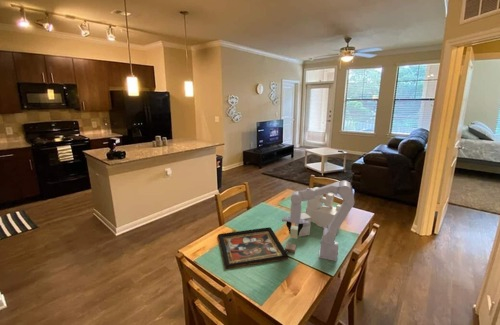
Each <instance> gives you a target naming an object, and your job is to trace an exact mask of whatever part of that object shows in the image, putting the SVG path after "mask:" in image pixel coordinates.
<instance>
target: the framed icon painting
mask: <svg viewBox="0 0 500 325" xmlns="http://www.w3.org/2000/svg"><path fill="white" fill-rule="evenodd" d="M217 237H218V242H219V246H220V249H221V255H222V260H223V264H224V268H225V269H226V270H229V269H234V268H240V267H245V266H252V265H256V264H264V263H269V262H275V261H276V262H277V261H283V260H288V259H289V255H288V252H286V251H285V247H284V246H283V245H282V244H281V241H280V240H279V238H278V237H277V235H276V233H275V231H274V230H273V229H272V227H261V228H253V229H246V230H239V231H232V232H224V233H218V234H217Z"/></svg>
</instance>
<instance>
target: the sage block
mask: <svg viewBox="0 0 500 325" xmlns="http://www.w3.org/2000/svg"><path fill="white" fill-rule="evenodd" d="M298 237H299V236H298V226H295V225H291V230H290V234H289V238H291V239H295V240H297V239H298Z"/></svg>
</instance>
